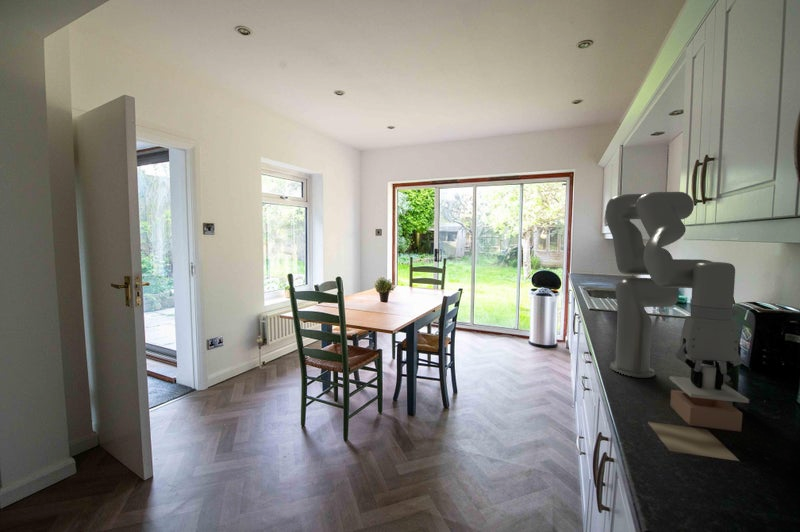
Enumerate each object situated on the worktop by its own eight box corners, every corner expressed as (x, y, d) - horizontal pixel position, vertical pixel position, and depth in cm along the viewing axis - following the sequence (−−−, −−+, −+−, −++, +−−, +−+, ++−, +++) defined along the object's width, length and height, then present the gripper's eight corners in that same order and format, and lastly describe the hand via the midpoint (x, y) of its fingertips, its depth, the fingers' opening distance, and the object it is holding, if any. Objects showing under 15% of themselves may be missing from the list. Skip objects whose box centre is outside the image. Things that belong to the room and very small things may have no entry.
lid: (669, 379, 93) (670, 356, 92) (720, 383, 89) (721, 360, 89) (690, 397, 82) (692, 372, 82) (748, 403, 79) (750, 377, 78)
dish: (670, 407, 93) (671, 389, 92) (715, 412, 90) (717, 394, 90) (689, 427, 83) (690, 407, 83) (740, 434, 81) (742, 413, 80)
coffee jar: (696, 393, 101) (701, 330, 100) (734, 401, 96) (739, 335, 95) (697, 406, 94) (702, 338, 92) (738, 415, 89) (744, 344, 87)
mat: (647, 424, 85) (647, 421, 85) (706, 431, 82) (706, 429, 82) (669, 453, 74) (669, 450, 73) (739, 463, 70) (740, 461, 70)
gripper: (742, 311, 86) (737, 384, 87) (664, 308, 90) (660, 377, 92) (764, 318, 78) (758, 397, 80) (678, 314, 83) (673, 389, 84)
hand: (706, 386), depth 86 cm, fingers closed on lid, 3 cm apart
